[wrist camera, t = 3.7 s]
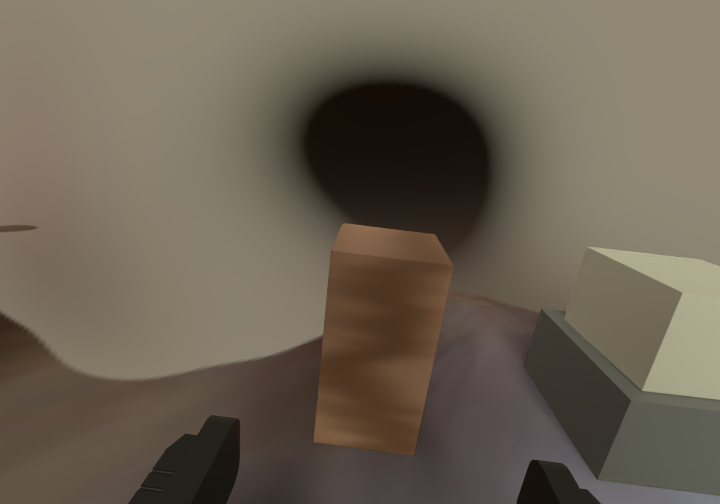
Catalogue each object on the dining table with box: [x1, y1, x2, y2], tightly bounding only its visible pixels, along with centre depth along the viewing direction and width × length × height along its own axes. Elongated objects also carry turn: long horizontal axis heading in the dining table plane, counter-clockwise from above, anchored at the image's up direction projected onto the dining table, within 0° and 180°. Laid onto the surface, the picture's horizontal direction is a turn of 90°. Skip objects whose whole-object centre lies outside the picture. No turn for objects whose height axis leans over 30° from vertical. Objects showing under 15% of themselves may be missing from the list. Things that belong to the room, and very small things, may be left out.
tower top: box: [564, 247, 720, 400], centre depth 19 cm, size 7×7×5 cm
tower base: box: [524, 309, 720, 496], centre depth 21 cm, size 9×9×5 cm
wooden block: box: [314, 223, 453, 456], centre depth 18 cm, size 5×5×10 cm
